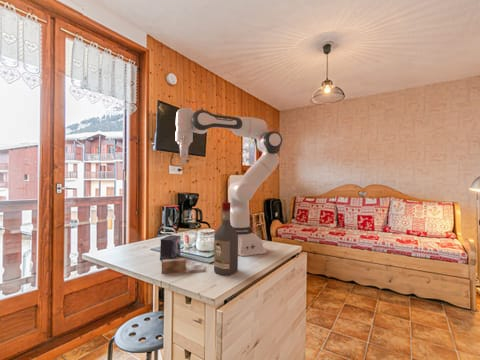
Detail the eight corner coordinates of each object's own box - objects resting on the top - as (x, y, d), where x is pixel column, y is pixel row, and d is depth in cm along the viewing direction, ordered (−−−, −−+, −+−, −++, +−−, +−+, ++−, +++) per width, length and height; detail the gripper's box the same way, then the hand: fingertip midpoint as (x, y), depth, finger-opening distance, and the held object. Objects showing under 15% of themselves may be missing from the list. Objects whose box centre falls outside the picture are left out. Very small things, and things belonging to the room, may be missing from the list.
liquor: (225, 266, 113) (225, 201, 114) (240, 270, 108) (241, 202, 108) (210, 271, 106) (211, 202, 106) (226, 277, 101) (227, 204, 101)
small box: (171, 261, 120) (171, 239, 120) (159, 260, 121) (159, 239, 121) (181, 255, 130) (181, 235, 130) (169, 254, 131) (169, 234, 131)
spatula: (161, 275, 102) (161, 263, 102) (162, 269, 108) (162, 258, 108) (204, 271, 107) (204, 260, 107) (203, 266, 113) (203, 255, 113)
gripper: (191, 135, 121) (190, 163, 121) (189, 141, 141) (189, 165, 141) (177, 134, 119) (177, 163, 119) (178, 141, 139) (177, 165, 139)
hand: (184, 164), depth 130 cm, fingers open, 8 cm apart
